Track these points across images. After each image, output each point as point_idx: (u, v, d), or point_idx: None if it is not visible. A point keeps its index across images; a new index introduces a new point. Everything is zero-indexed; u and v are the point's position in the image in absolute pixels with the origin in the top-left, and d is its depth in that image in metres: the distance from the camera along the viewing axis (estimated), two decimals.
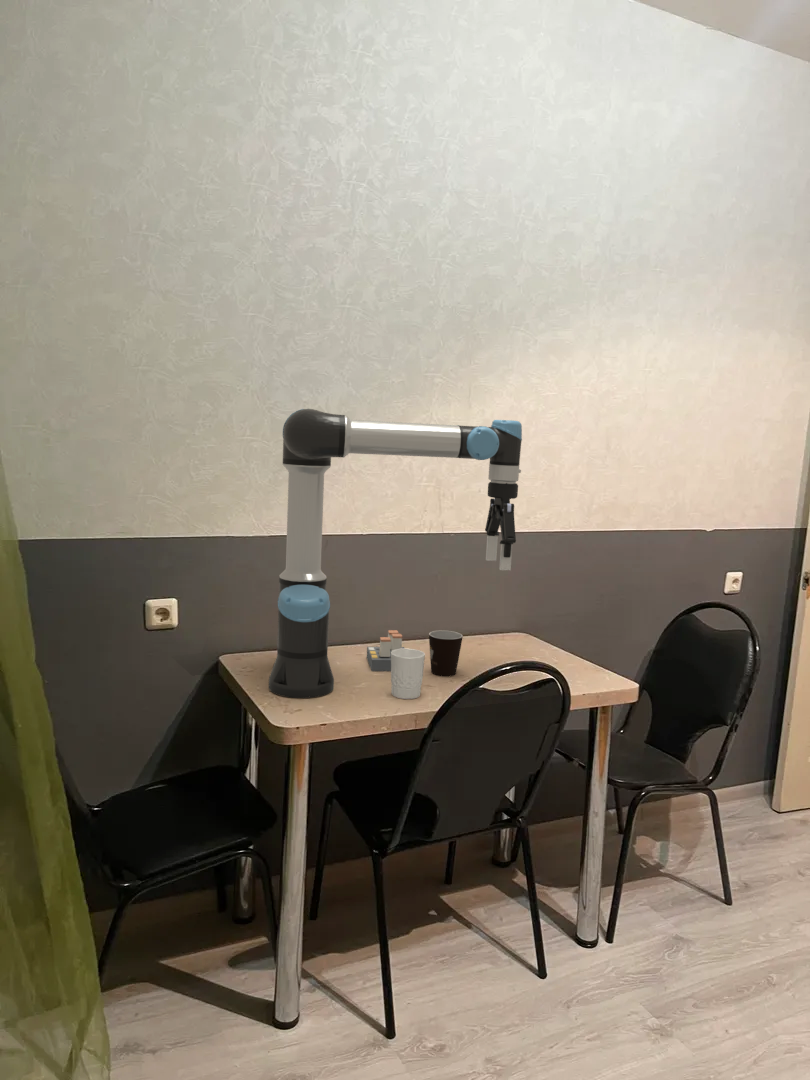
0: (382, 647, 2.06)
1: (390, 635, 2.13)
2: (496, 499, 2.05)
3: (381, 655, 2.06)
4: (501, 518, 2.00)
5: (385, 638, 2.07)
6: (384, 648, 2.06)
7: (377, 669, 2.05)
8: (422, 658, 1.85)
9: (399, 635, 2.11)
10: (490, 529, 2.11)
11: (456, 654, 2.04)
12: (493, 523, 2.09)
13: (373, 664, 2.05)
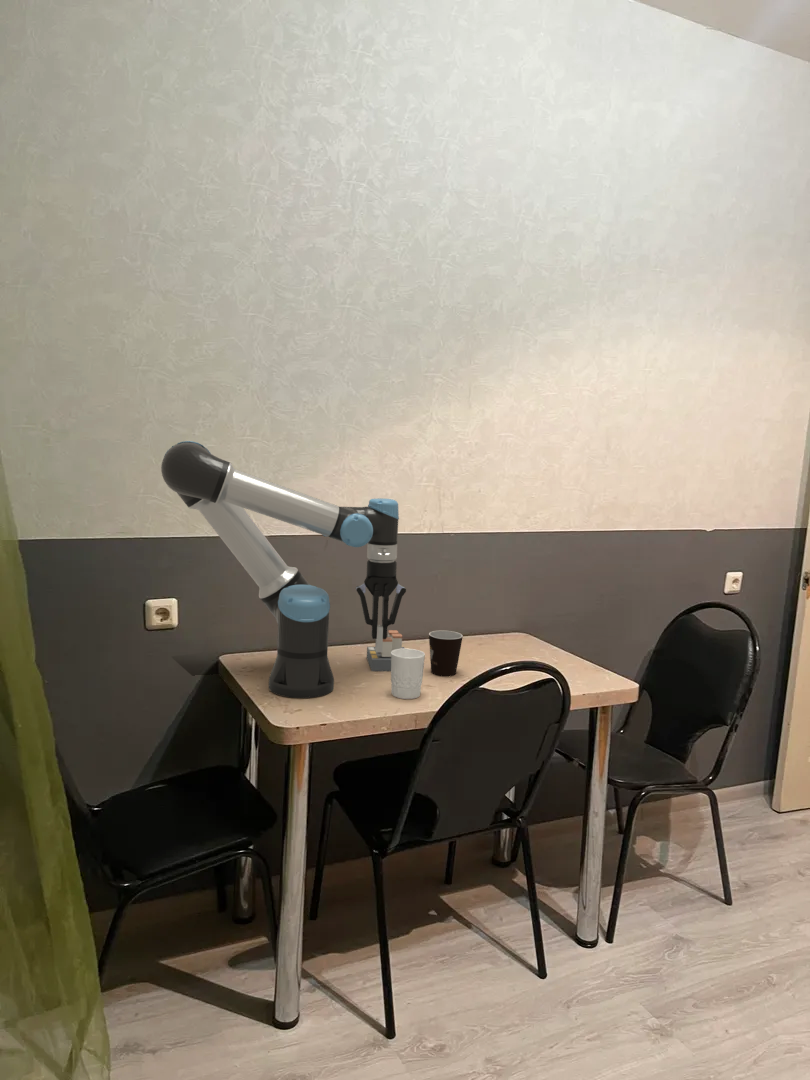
0: (383, 647, 2.06)
1: (390, 635, 2.13)
2: None
3: (382, 655, 2.06)
4: None
5: (386, 638, 2.07)
6: (386, 648, 2.06)
7: (377, 669, 2.05)
8: (422, 658, 1.85)
9: (399, 635, 2.11)
10: (382, 615, 2.07)
11: (456, 654, 2.04)
12: (382, 606, 2.06)
13: (373, 664, 2.05)
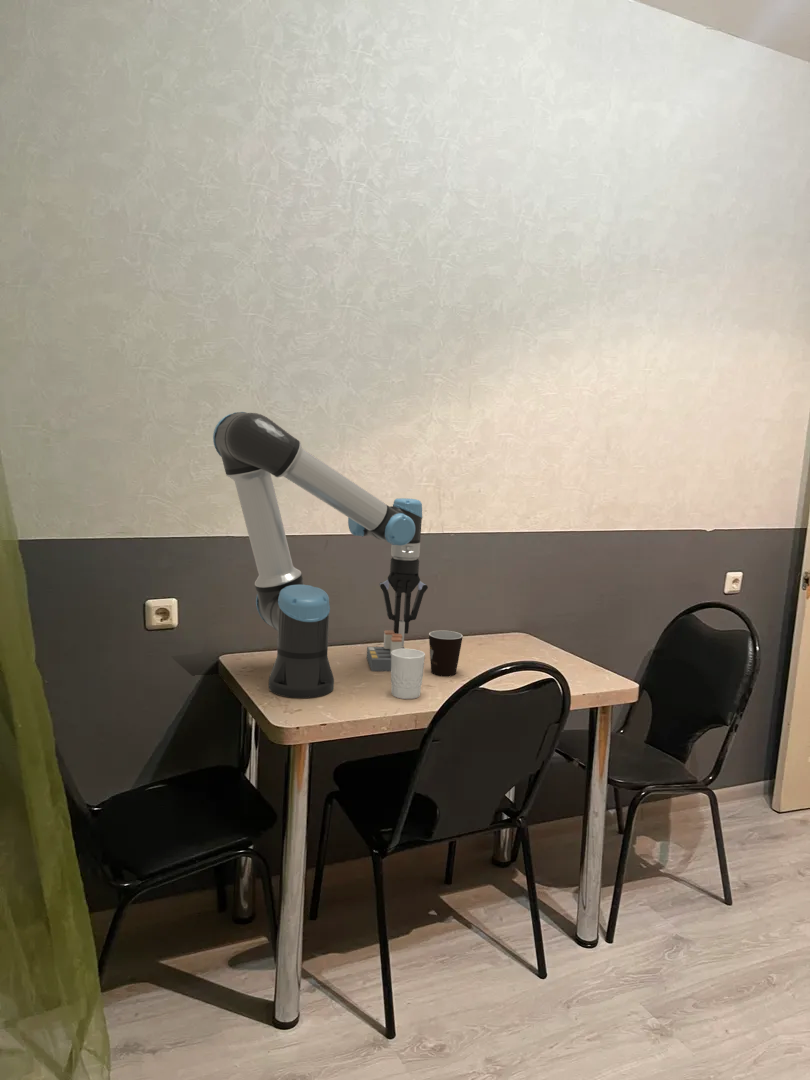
0: (393, 647, 2.06)
1: (386, 635, 2.13)
2: None
3: None
4: (395, 594, 2.14)
5: (396, 638, 2.07)
6: (395, 648, 2.06)
7: (377, 669, 2.05)
8: (422, 658, 1.85)
9: (399, 635, 2.11)
10: (404, 610, 2.15)
11: (456, 654, 2.04)
12: (404, 602, 2.14)
13: (373, 664, 2.05)
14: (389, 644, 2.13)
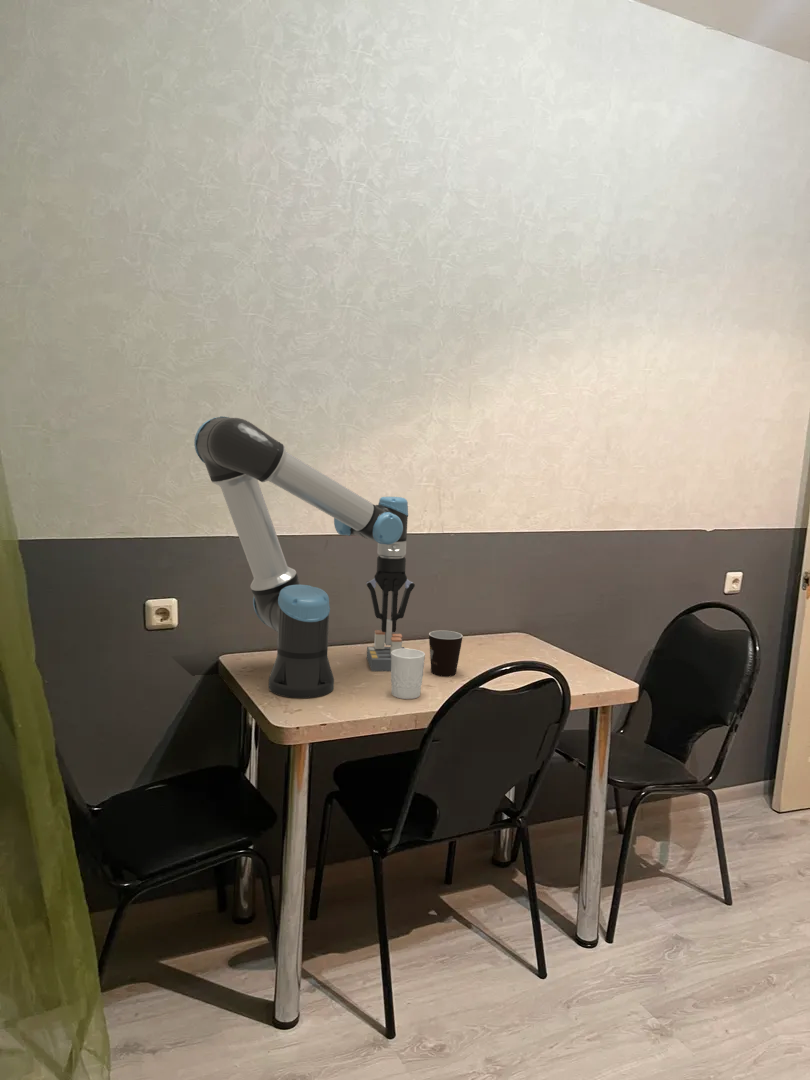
0: (393, 647, 2.06)
1: (377, 635, 2.12)
2: None
3: None
4: (382, 592, 2.13)
5: (396, 638, 2.07)
6: (395, 648, 2.06)
7: (377, 669, 2.05)
8: (422, 658, 1.85)
9: (399, 635, 2.11)
10: (391, 609, 2.14)
11: (456, 654, 2.04)
12: None
13: (373, 664, 2.05)
14: (379, 644, 2.13)
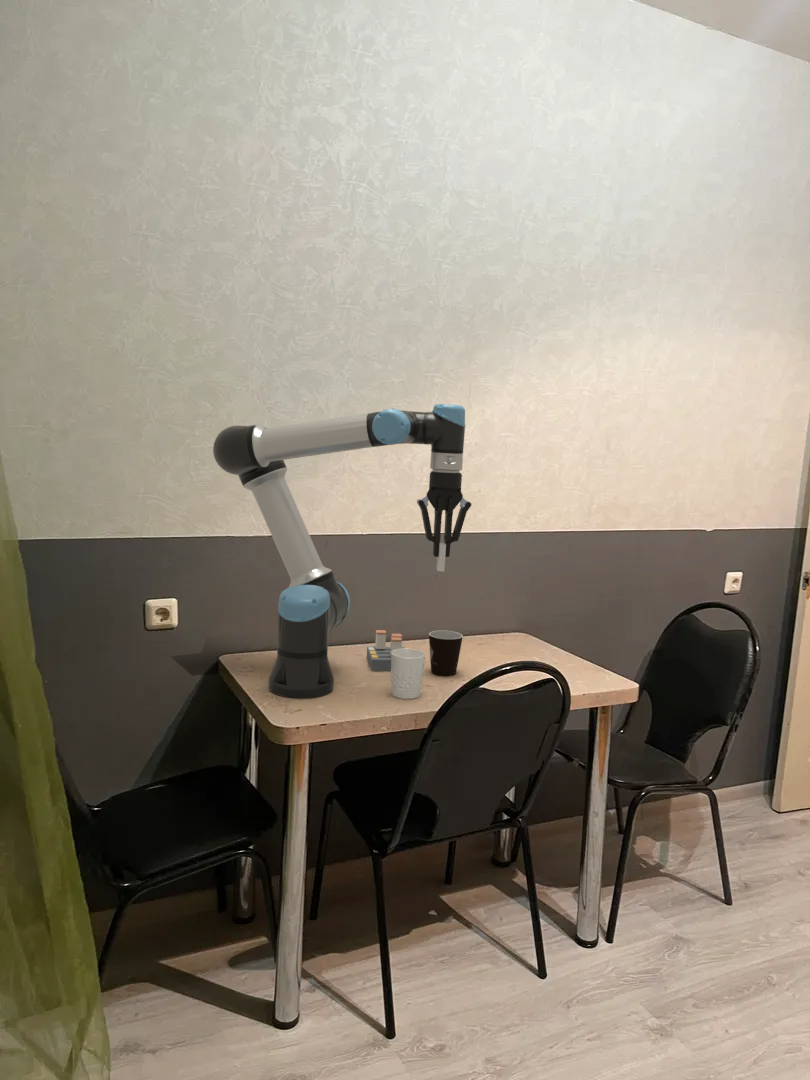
0: (393, 647, 2.06)
1: (378, 635, 2.13)
2: None
3: None
4: (435, 513, 1.91)
5: (396, 638, 2.07)
6: (395, 648, 2.06)
7: (377, 669, 2.05)
8: (422, 658, 1.85)
9: (399, 635, 2.11)
10: (444, 531, 1.92)
11: (456, 654, 2.04)
12: (445, 522, 1.92)
13: (373, 664, 2.05)
14: (380, 644, 2.13)
